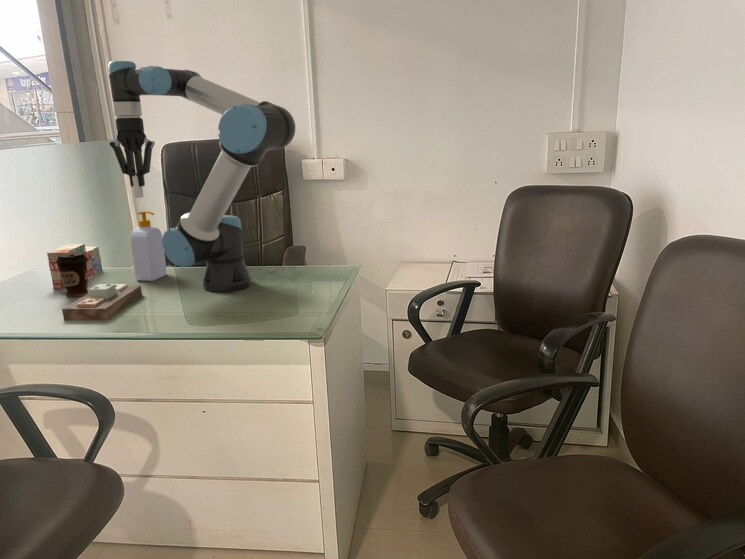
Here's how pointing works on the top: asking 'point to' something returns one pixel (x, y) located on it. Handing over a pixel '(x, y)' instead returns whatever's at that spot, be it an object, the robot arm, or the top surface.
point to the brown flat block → (102, 305)
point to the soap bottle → (148, 251)
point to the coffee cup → (73, 273)
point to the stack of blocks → (89, 252)
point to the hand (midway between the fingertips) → (139, 197)
